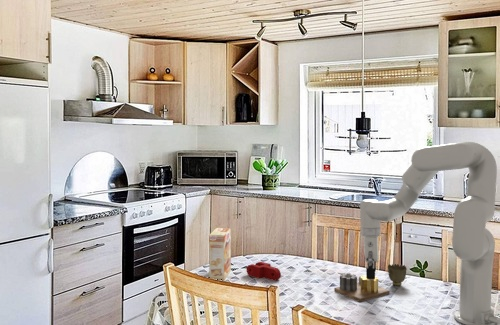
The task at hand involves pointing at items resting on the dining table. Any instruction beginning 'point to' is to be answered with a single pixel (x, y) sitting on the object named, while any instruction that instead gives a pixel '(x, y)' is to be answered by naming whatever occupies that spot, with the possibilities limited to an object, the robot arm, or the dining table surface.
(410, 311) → the dining table surface
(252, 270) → the mechanical linkage
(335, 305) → the dining table surface
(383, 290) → the gear board
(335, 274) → the dining table surface
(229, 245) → the coffeecake box
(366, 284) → the brass gear
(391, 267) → the cup
